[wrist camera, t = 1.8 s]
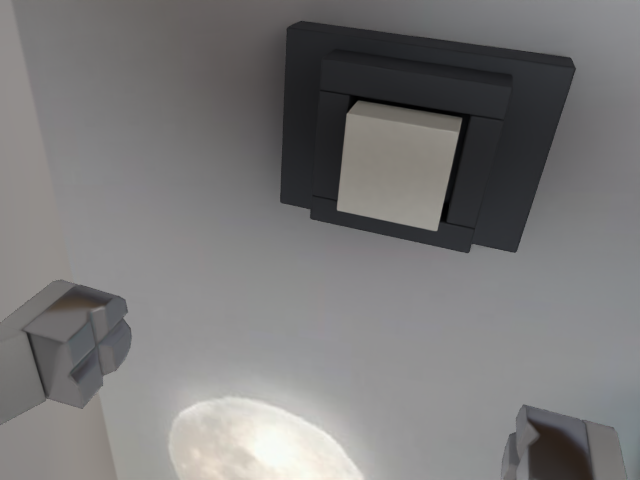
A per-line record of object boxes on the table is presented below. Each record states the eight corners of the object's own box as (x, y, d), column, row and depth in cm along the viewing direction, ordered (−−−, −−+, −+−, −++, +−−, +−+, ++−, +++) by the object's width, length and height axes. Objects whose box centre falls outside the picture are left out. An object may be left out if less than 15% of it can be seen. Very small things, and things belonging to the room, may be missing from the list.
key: (347, 192, 23) (336, 210, 21) (357, 99, 21) (346, 113, 19) (441, 211, 22) (436, 232, 20) (462, 117, 20) (459, 132, 18)
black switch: (291, 188, 27) (265, 220, 24) (299, 20, 23) (269, 34, 20) (515, 234, 25) (516, 276, 22) (572, 57, 20) (582, 80, 18)
